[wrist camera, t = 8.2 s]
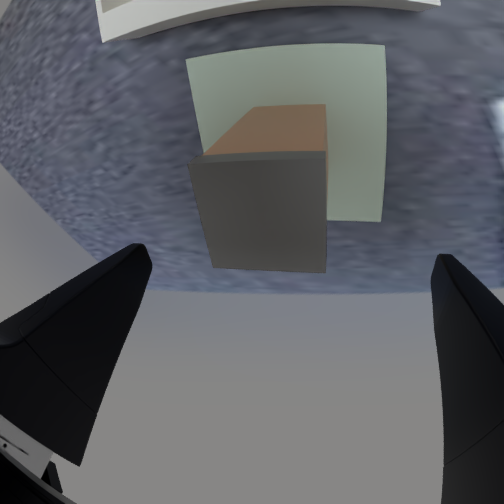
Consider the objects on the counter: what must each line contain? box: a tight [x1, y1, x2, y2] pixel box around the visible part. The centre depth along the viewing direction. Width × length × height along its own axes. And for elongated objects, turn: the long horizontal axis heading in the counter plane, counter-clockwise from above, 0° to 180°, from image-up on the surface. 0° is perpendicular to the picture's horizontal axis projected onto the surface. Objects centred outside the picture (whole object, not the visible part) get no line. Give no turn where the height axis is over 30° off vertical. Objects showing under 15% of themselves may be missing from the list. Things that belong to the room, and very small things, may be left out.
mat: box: [186, 43, 387, 222], centre depth 19 cm, size 12×12×1 cm
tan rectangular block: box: [187, 104, 328, 273], centre depth 15 cm, size 5×5×10 cm
